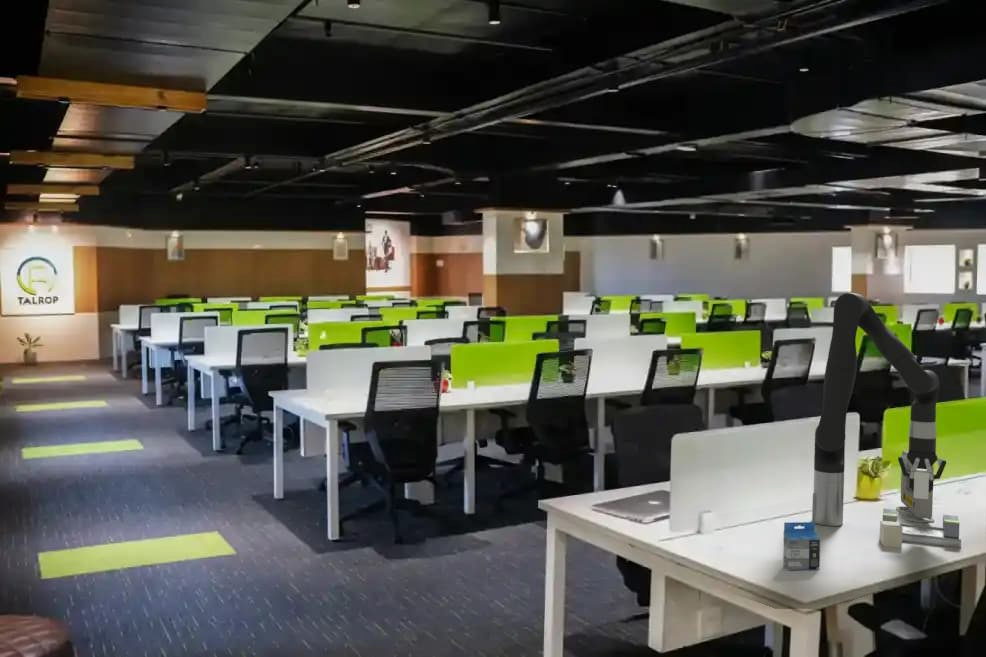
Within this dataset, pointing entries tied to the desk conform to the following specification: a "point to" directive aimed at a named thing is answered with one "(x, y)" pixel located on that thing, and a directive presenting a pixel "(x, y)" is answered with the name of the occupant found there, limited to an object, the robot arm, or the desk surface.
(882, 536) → the block
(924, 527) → the grey base with blocks
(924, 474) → the block
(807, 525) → the label tape box
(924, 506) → the network device
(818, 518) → the robot arm
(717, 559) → the desk surface
